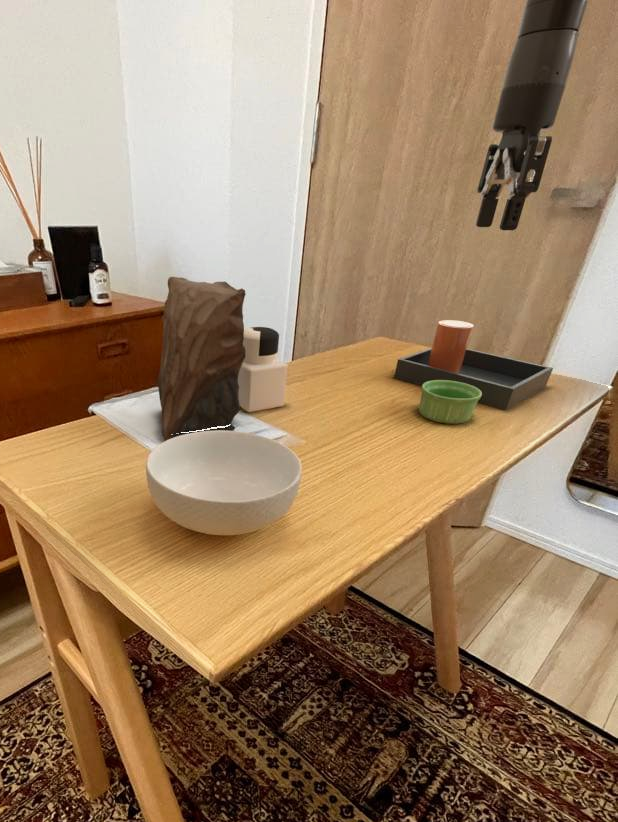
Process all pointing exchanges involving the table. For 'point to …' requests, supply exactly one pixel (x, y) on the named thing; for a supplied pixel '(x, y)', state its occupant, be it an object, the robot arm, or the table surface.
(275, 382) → the medicine bottle
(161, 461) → the cereal bowl
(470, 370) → the tray
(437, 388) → the ramekin
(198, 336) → the brown carved rock
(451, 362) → the cup
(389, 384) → the table surface
